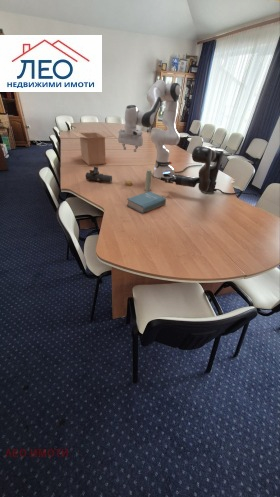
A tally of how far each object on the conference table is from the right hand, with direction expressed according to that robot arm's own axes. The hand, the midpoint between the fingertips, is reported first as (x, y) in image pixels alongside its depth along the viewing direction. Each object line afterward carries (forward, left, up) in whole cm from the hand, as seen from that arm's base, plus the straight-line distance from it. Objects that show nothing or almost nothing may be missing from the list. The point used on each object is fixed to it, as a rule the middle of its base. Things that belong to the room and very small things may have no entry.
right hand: (162, 176), depth 171 cm
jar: (+10, -4, -13) cm, 17 cm away
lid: (+25, -16, -11) cm, 31 cm away
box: (+61, -80, -13) cm, 102 cm away
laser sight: (+51, -20, -13) cm, 56 cm away
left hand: (+25, -16, +14) cm, 33 cm away
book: (+13, +25, -13) cm, 31 cm away
